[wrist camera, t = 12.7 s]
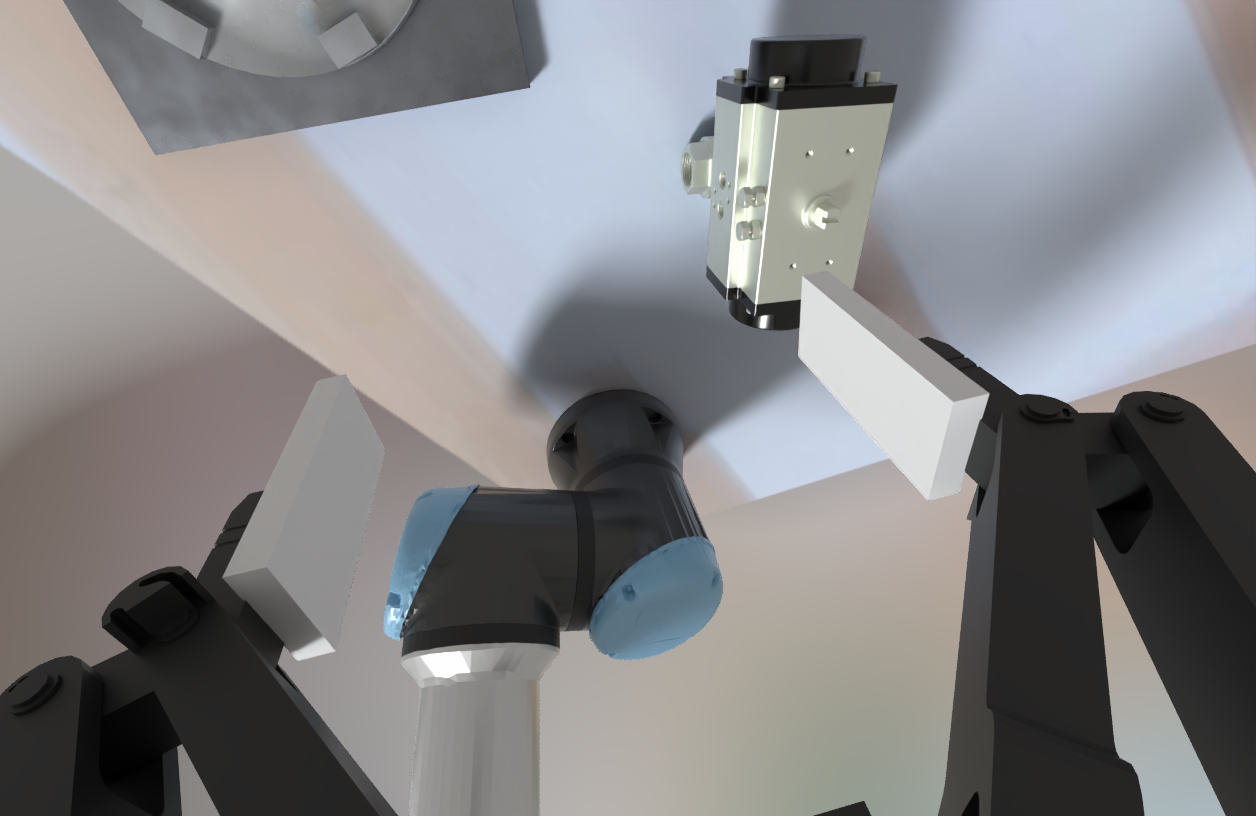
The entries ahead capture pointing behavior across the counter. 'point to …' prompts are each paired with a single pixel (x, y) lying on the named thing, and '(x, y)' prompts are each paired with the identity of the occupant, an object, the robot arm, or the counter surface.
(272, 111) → the base plate
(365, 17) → the silver tabbed disc
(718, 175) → the ball valve
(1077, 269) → the counter surface
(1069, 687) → the robot arm
